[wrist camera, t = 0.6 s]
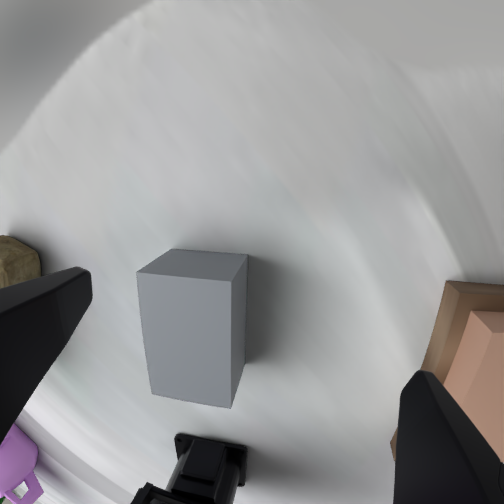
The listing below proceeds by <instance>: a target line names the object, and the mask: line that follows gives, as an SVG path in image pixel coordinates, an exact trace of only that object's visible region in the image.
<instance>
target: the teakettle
mask: <svg viewBox="0 0 504 504" xmlns="http://www.w3.org/2000/svg"><path fill="white" fill-rule="evenodd" d="M37 457H38V448H37V446H36V444H35V443H34V442H33V441H32V440H31V439H30V438H29V437H28V436H27V435H26V434H25V433H23V432H22V431H21V430H20V429H19V428H18V427H17V426H16V425H15V424H13V425H12V427H11V428H10V430H9V432H8V433H7V435H6V437H5V439H4V440H3V442H2V444H1V445H0V498H2V497H4V496H5V497H6V498H7V499H9V500H10V501H11V502H12V503H14V504H33V503H34V502H35V501H36V500H37V499H38V498H39V497H40V496H41V495H42V494H43V492H44V491H43V489H42V487H41V486H40V484H39V482H38V480H37V478H36V476H35V474H34V472H33V469H34V467H35V464H36V461H37ZM23 481H24V482H25V483H26V485H27V487H28V489H29V490H28V491H27V493H26V494H25V495H24V496H23V498H22V499H21V500H20V499H19V498H18V497H17V496H16V495H15V494H14V493H13V492H12V490H13V489H15V488H16V487H17V486H19V485H20V484H21V483H22V482H23Z"/></svg>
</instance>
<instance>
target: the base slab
mask: <svg viewBox="0 0 504 504" xmlns="http://www.w3.org/2000/svg"><path fill="white" fill-rule="evenodd" d="M471 311H488V312H504V285H498V284H484V283H471V282H458V281H446V283H445V287H444V291H443V295H442V299H441V303H440V307H439V311H438V315H437V318H436V322H435V326H434V329H433V332H432V336H431V339H430V342H429V345H428V349H427V352H426V355H425V358H424V361H423V364H422V367H421V369H420V370H425V371H430V372H432V373H433V374H434V375H435V376H436V377H437V379H438V380H439V381H440V382H441V383H442V385H443V384H444V382H445V380H446V377H447V375H448V373H449V370H450V368H451V365H452V363H453V360H454V358H455V355H456V353H457V350H458V347H459V345H460V342H461V339H462V336H463V333H464V330H465V328H466V325H467V321H468V318H469V315H470V312H471ZM397 428H398V427H397ZM396 438H397V429H396V431H395V433H394V436H393V438H392V440H391V442H390V444H391V449H392V453H393V458H394V461H395V458H396Z"/></svg>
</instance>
